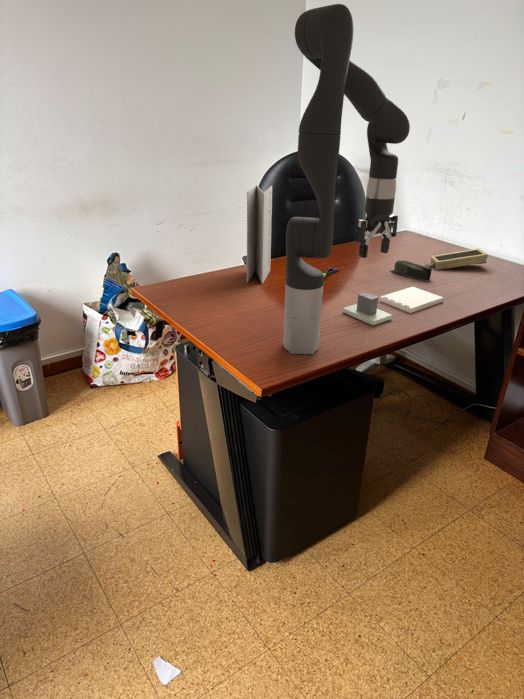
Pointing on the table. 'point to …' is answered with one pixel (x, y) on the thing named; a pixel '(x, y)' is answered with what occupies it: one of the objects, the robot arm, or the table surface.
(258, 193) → the brochure
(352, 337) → the table surface
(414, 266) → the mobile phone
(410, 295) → the cream panel
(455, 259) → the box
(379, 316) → the stub
